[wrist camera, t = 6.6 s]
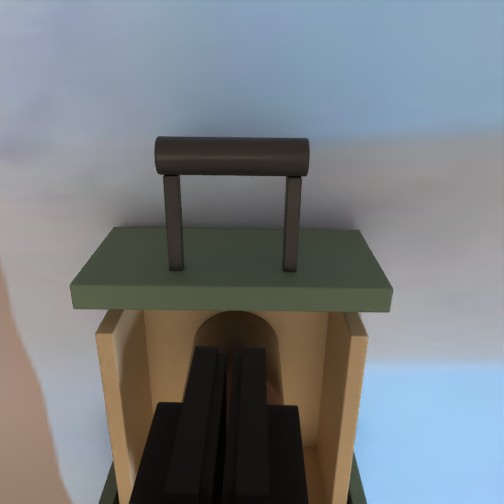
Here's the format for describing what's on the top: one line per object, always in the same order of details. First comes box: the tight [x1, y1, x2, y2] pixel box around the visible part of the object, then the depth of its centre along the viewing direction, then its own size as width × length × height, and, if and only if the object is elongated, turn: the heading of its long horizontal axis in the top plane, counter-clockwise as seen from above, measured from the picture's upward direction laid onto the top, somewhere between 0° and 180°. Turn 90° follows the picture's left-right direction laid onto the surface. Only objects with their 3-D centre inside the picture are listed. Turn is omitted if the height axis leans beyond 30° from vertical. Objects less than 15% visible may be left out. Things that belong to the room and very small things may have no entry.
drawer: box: [70, 136, 393, 504], centre depth 24 cm, size 21×13×7 cm, turn 179°
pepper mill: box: [181, 311, 284, 504], centre depth 22 cm, size 5×5×12 cm
